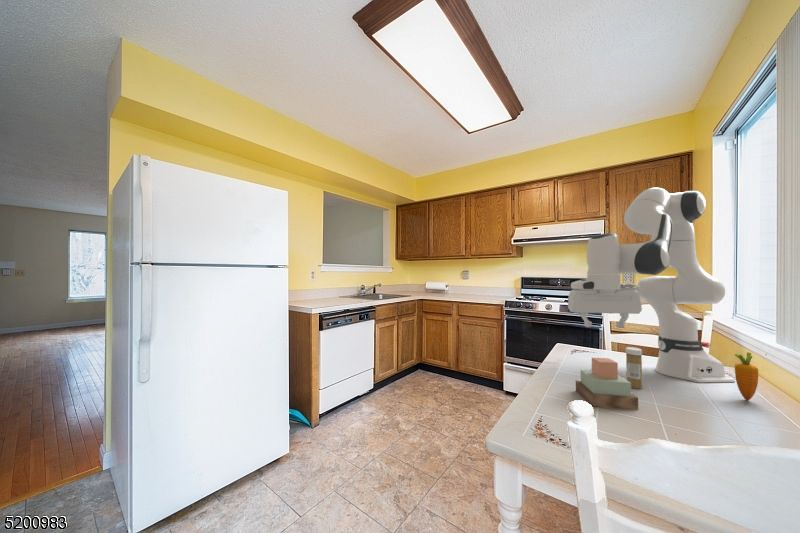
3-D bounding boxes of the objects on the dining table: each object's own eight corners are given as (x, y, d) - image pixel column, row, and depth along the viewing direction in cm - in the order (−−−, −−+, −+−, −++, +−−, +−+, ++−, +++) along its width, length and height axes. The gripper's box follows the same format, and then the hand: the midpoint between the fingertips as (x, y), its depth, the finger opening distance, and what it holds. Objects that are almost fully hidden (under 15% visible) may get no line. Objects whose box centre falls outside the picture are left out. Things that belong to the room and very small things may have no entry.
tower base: (614, 394, 97) (614, 382, 97) (638, 411, 85) (638, 397, 85) (575, 392, 99) (575, 380, 99) (593, 408, 87) (593, 395, 87)
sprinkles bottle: (644, 387, 102) (644, 348, 103) (639, 390, 100) (639, 350, 100) (629, 383, 106) (628, 346, 106) (623, 385, 104) (623, 347, 104)
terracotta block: (608, 373, 94) (608, 358, 94) (617, 379, 89) (617, 362, 89) (591, 372, 95) (591, 357, 95) (600, 378, 90) (599, 362, 90)
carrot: (742, 402, 90) (741, 353, 91) (730, 396, 95) (729, 349, 95) (764, 404, 89) (762, 355, 89) (751, 398, 93) (750, 351, 94)
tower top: (614, 384, 96) (614, 371, 96) (631, 396, 86) (631, 382, 86) (580, 381, 98) (580, 369, 98) (593, 393, 88) (593, 380, 88)
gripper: (632, 283, 95) (633, 326, 95) (565, 283, 98) (566, 324, 98) (646, 284, 89) (647, 330, 88) (574, 284, 92) (574, 328, 91)
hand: (604, 327), depth 93 cm, fingers open, 8 cm apart
